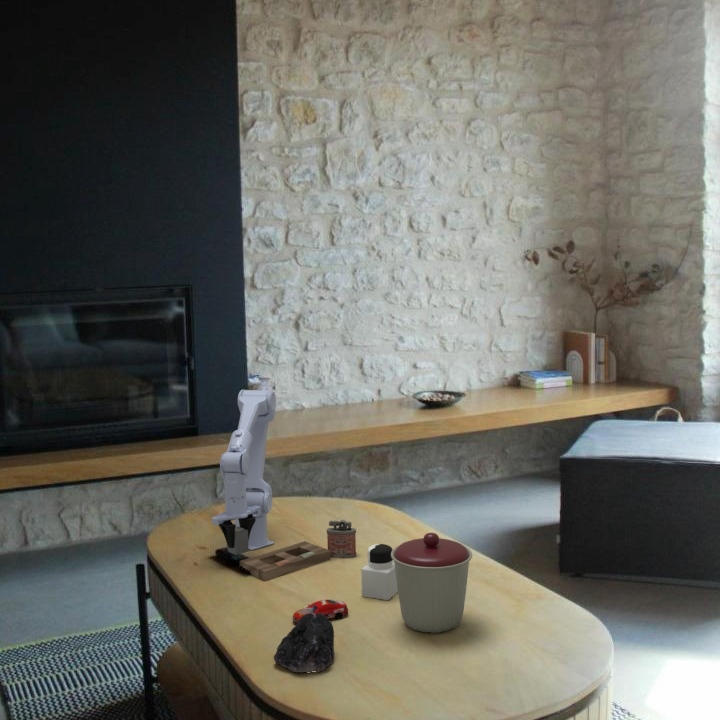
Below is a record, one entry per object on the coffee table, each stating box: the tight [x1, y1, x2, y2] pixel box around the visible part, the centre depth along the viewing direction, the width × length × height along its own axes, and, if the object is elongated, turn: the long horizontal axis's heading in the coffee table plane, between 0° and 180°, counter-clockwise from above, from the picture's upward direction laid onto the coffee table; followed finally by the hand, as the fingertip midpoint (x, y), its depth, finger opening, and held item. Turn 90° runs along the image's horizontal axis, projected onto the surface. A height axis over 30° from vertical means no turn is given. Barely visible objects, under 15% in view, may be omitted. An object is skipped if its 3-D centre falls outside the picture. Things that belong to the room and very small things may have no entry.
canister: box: [391, 532, 473, 634], centre depth 212 cm, size 18×18×21 cm
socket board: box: [239, 541, 332, 582], centre depth 253 cm, size 11×22×3 cm, turn 132°
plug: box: [227, 527, 250, 556], centre depth 254 cm, size 4×4×6 cm
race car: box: [292, 599, 349, 625], centre depth 217 cm, size 13×5×4 cm, turn 115°
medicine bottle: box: [360, 543, 398, 601], centre depth 231 cm, size 7×7×12 cm
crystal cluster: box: [273, 613, 335, 673], centre depth 196 cm, size 13×14×10 cm
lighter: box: [326, 519, 358, 559], centre depth 258 cm, size 8×3×10 cm, turn 84°
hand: (237, 545), depth 255 cm, fingers closed on plug, 4 cm apart
